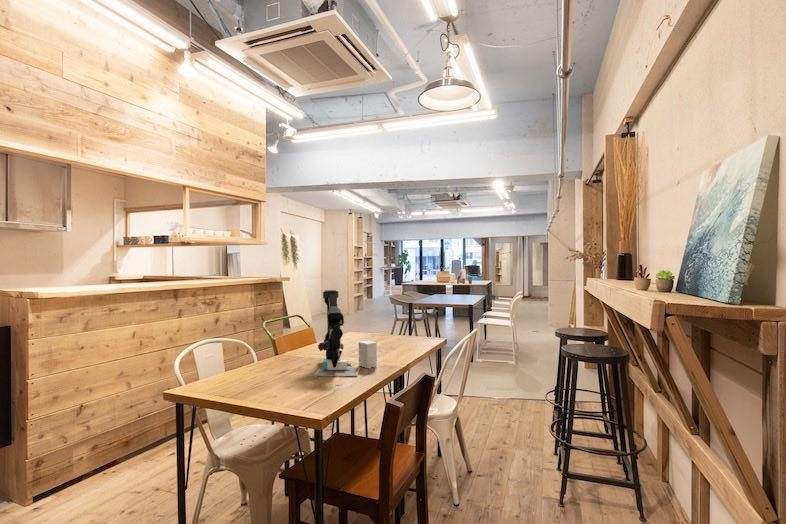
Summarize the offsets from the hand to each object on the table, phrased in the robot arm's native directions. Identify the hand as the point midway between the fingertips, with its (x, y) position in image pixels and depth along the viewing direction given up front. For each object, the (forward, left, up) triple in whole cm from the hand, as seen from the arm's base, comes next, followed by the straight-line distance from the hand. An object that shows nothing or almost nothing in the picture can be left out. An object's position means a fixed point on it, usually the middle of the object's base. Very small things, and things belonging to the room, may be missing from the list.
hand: (335, 366), depth 218 cm
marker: (0, +1, -1) cm, 1 cm away
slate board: (+4, +2, -2) cm, 5 cm away
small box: (-8, +16, -2) cm, 18 cm away
